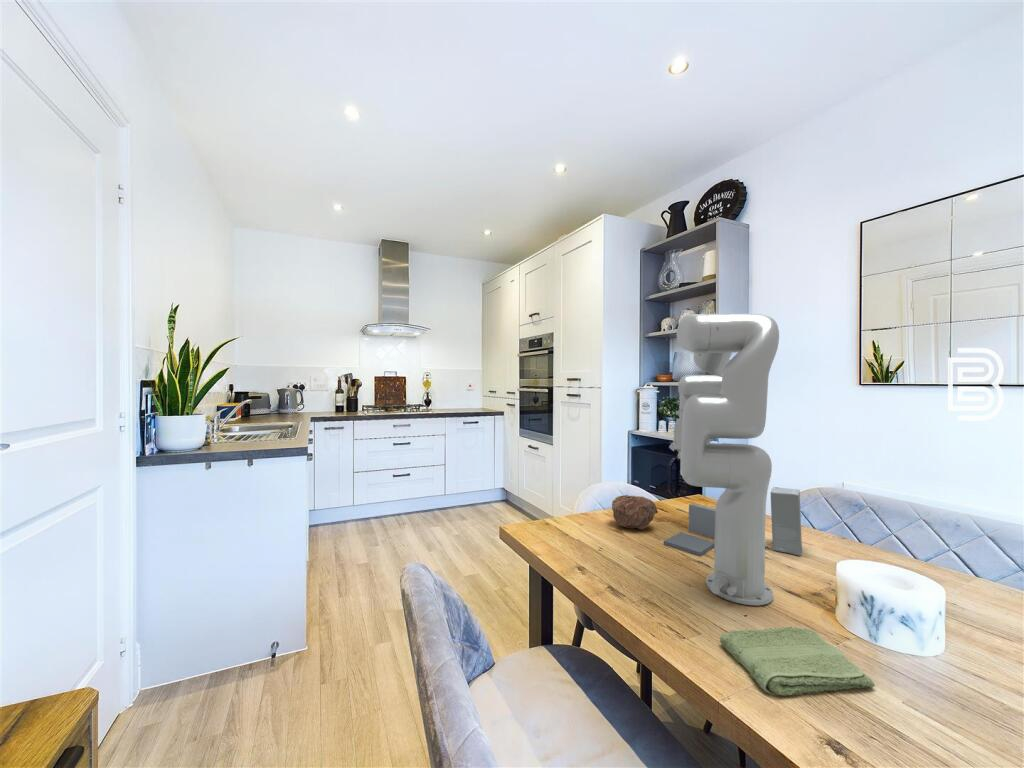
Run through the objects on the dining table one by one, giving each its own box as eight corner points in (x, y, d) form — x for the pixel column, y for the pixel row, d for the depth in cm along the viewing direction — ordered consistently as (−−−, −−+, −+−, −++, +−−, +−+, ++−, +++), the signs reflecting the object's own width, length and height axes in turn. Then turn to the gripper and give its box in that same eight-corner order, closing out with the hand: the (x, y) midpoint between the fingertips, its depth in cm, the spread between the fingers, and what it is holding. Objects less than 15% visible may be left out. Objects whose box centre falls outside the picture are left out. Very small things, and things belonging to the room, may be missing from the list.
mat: (700, 556, 105) (700, 552, 105) (663, 544, 113) (663, 540, 113) (716, 545, 112) (716, 542, 112) (680, 535, 119) (680, 531, 119)
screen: (734, 544, 113) (735, 515, 113) (688, 531, 123) (688, 504, 122) (737, 542, 114) (738, 514, 114) (691, 529, 124) (691, 503, 124)
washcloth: (881, 694, 60) (881, 672, 60) (768, 703, 58) (768, 680, 58) (807, 638, 73) (808, 620, 73) (714, 643, 71) (714, 625, 71)
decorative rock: (662, 528, 125) (662, 495, 125) (643, 537, 117) (643, 503, 117) (624, 517, 135) (624, 487, 135) (604, 525, 127) (605, 493, 127)
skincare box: (801, 557, 105) (802, 495, 105) (768, 549, 109) (769, 491, 109) (802, 546, 112) (803, 488, 112) (771, 540, 116) (772, 484, 116)
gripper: (661, 414, 133) (660, 469, 133) (715, 417, 121) (714, 478, 121) (672, 413, 138) (671, 467, 138) (725, 416, 126) (724, 475, 126)
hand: (691, 471), depth 129 cm, fingers closed on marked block, 5 cm apart
